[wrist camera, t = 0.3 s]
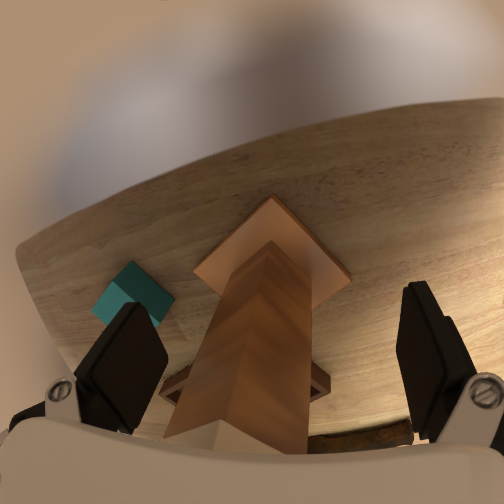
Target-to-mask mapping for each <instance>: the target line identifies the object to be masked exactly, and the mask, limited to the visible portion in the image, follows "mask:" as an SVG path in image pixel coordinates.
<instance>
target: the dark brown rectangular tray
mask: <svg viewBox="0 0 504 504" xmlns="http://www.w3.org/2000/svg"><path fill="white" fill-rule="evenodd" d="M193 364H194V363H193ZM193 364H191V365H190V366H188V367H187V368H185V369H183V370H182V371H180V372H179V373H177V374H175V375H174V376H172V377H171V378H169V379H167V380H166V381H164V383H163V385H162V388H161V390H160V392H159V394H158V395H160V396H161V397H163V398H164V399H165V400H167V401H168V402H170V403H171V404H173V405H174V406H176V405H177V403H178V400H179V398H180V395H181V393H182V390H183V388H184V385H185V383H186V381H187V378H188V376H189V373H190V371H191V368H192V366H193ZM330 379H331V377H330V376H329V375H328V374H327V373H325V372H324V371H323V370H322V369H320V368H319V367H318V366H317V365H316V364H314V363H313V362H312V361H311V383H310V402H312V401H315V400H317V399H319V398H321V397H323V396H325V395H327V394H329V393H331V380H330Z"/></svg>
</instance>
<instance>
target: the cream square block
mask: <svg viewBox="0 0 504 504" xmlns="http://www.w3.org/2000/svg"><path fill="white" fill-rule="evenodd" d="M157 442H162V443H168V444H173V445H179V446H186V447H193V448H200V449H208V450H217V451H227V452H238V453H254V454H282V455H286V454H284V453H281V452H279V451H278V450H276V449H274V448H272V447H270V446H268V445H266V444H264V443H262V442H260V441H258V440H257V439H255V438H253V437H251V436H249V435H248V434H246V433H244V432H242V431H240V430H239V429H237V428H235V427H234V426H232V425H230V424H228V423H227V422H225V421H223V420H221V419H219V420H216V421H214V422H211V423H209V424H206V425H203V426H200V427H198V428H195V429H192V430H189V431H186V432H183V433H180V434H177V435H174V436H171V437H168V438H165V439H161V440H158V441H157Z"/></svg>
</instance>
